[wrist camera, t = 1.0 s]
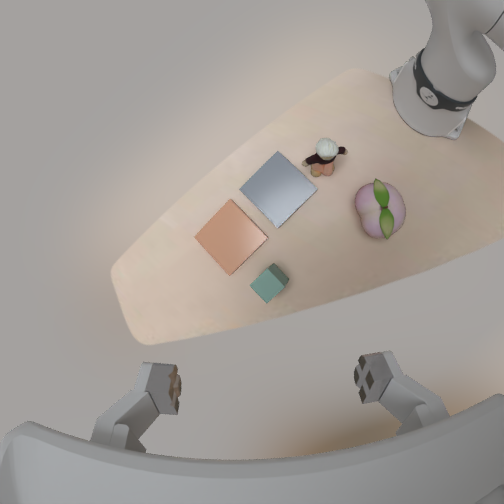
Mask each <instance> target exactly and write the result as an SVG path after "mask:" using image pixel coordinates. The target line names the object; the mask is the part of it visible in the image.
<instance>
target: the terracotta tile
mask: <svg viewBox="0 0 504 504" xmlns="http://www.w3.org/2000/svg"><path fill="white" fill-rule="evenodd" d="M195 239H196V240H197V241H198V242H199V243H200V244H201V245H202V246H203V247H204V249H205V250H206V251H207V252H208V253H209V254H210V255H211V256H212V257H213V258H214V260H215V261H216V262H217V263H218V264H219V265H220V266H221V267H222V268H223V269H224V270H225V272H226V273H227V274H228V275H229V276H230V275H231V274H232V273H233V272H234V271H235V270H236V269H237V268H238V267H239V266H240V265H241V264H242V263H243V262H244V261H245V260H246V259H248V258H249V257H250V256H251V255H252V254H253V253H254V252H255V251H256V250H257V249H258V248H259V247H260V246H261V245H262V244H263V243H264V242H265V241H266V240H267V239H268V237H267V236H266V235H265V234H264V233H263V232H262V231H261V230H260V229H259V227H258V226H257V225H256V224H255V223H254V222H253V221H252V220H251V219H250V218H249V217H248V216H247V215H246V214H245V213H244V212H243V211H242V210H241V209H240V208H239V207H238V206H237V205H236V204H235V203H234V202H233V201H232V200H231V199H229V200H228V202H227V203H226V204H225V205H224V206H223V207H222V208H221V209H220V210H219V211H218V212H217V213H216V214H215V215H214V216H213V217H212V218H211V219H210V221H209V222H208V223H207V224H206V225H205V226H204V227H203V228H202V229H201V230H200V231H199V232H198V233H197V235H196V236H195Z"/></svg>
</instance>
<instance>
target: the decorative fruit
mask: <svg viewBox="0 0 504 504" xmlns="http://www.w3.org/2000/svg"><path fill="white" fill-rule="evenodd" d="M355 206H356V209H357V212H358V213H359V214H360V216H361V223H362V226H363V228H364V230H365V231H366V233H367V234H369V235H370V236H372V237H374V238H386V239H388V238H389V237H390V235H392V234H393V233H395V232H396V231H397V230H399V229H400V228H401V226H402V225H403V223H404V220H405V216H406V208H405V204H404V201H403V198H402V196H401V194H400V193H399V191H398V190H397V189H396V188H395V187H393V186H392V185H390V184H388V183H383V182H380V181H379V180H377V179H375V181H374V183H370V184H367V185H365V186H363V187H362V188H360V190H359V191H358V192H357V194H356V197H355Z"/></svg>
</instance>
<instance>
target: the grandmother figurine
mask: <svg viewBox="0 0 504 504" xmlns="http://www.w3.org/2000/svg"><path fill="white" fill-rule="evenodd" d="M338 154H343V155H346V154H347V150H346V149H345V147H338V146H337V144H336V142H334V141H332V140H331V139H329V138H322V139H320V140H319V142H318V143H317V144H316V154H315V155H312V156H310V157H308V158H307V159H306V160H305V161H303V162H302V165H303V166H305V167H306V166H308V165H311V164H312V165H311V174H312V176H314V177H319V176H320V175H321V174H322V173H323V174H324V175H326V176H329V175H331V174H332V172H333V171H334V165H333V161H334V159H335V157H336V156H337V155H338Z"/></svg>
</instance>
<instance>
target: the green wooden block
mask: <svg viewBox="0 0 504 504" xmlns="http://www.w3.org/2000/svg"><path fill="white" fill-rule="evenodd" d="M288 280H289V279H288V278H287V277H286V275H285V274H284V273H283V272H282V271H281V270H280V269H279V268H278V267H277V266H276V265H275V264H272V265H271V266H270V267H269V268H267V269H266V270H265V271H264V272H263V273H262V274H261V275H260V276H259V277H258V278H257V279H256V280H255V281H254V282H253V283H251V284H250V286H251V288H252V289H253V290H254V291H255V292H256V293H257V294H258V295H259V296H260V297H261V298H262V299H263V300H264V301H265V302H266V303H268V302H269V301H270V300H271V299H272V298H273V297H274V296H276V295H277V294H278V293H279V292H280V291H281V290H282V289H283V288H284V287H285V286H286V284H287V282H288Z"/></svg>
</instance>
